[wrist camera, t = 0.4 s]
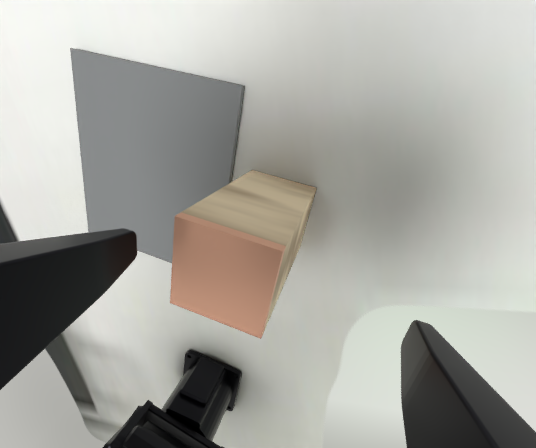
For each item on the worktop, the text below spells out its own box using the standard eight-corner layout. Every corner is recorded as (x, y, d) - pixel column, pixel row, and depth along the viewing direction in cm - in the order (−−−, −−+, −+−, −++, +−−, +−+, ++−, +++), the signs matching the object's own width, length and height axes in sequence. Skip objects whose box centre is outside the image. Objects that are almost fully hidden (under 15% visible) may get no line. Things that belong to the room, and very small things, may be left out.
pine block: (300, 246, 22) (260, 338, 14) (242, 228, 23) (170, 302, 14) (316, 187, 20) (283, 251, 11) (252, 169, 21) (174, 216, 12)
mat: (218, 275, 26) (215, 278, 25) (92, 230, 28) (88, 232, 28) (244, 85, 19) (242, 85, 19) (76, 48, 22) (70, 47, 21)
